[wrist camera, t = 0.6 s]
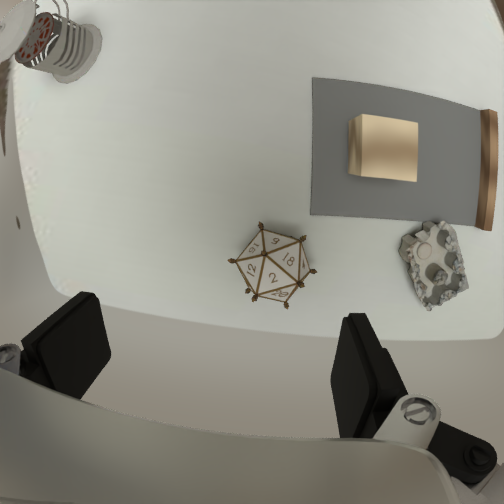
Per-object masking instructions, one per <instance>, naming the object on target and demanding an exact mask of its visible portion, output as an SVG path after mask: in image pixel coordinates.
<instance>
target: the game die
mask: <svg viewBox="0 0 504 504" xmlns="http://www.w3.org/2000/svg"><path fill="white" fill-rule="evenodd" d="M258 226H259V228H260V231H259V233H258V234H257V235H256V236H255V237H254V239H253V240H252V241H251V242H250V244H249V245H248V246H247V247H246V248H245V250H244V251H243V252H242V253H241V254H240V256H239V257H238V258H237V259H236V260H235V259H232V258H231V259H228V261H229V262H230V263H236V264H237V266H238V268H239V270H240V272H241V274H242V276H243V278H244V280H245V282H246V284H247V286H248V287H249V288H247V289H246V292H245V293H250V291H252V292H253V293H254V294H255V295H253V297H252V302H254V301H257V299H258V297H263V298H267V299H271V300H276V301H280V302H284V307H285V308H286V309H288V307H289V305H288V303H287V300H288V299H289V298H290V297H291V296H292V294H293V293H294V292H295V291H296V289H297V288H298V287H300V288H302V287H304V283H303V281H304V279H305V278H306V277H307V275H308V274H309V273H312V274H315V273H317V271H316V270H315V269H310V268H309V265H308V261H307V258H306V255H305V252H304V249H303V246H302V242H303V241H304V240H306V235H304V236H302V237H300V240H298V239H295V238H292V236H291V237H288V236H285V235H282V234H278V233H275V232H272V231H268V230H265V229H263V227H264V226H263V224H262V223H261V222H260V221H259V225H258Z"/></svg>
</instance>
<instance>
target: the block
mask: <svg viewBox="0 0 504 504" xmlns="http://www.w3.org/2000/svg"><path fill="white" fill-rule="evenodd" d="M417 164H418V123H416V122H411V121H406V120H400V119H394V118H388V117H381V116H374V115H367V114H361V115H359V116H357V117H355V118H354V119H352V120H350V121H348V158H347V173H348V174H353V175H358V176H365V177H376V178H386V179H396V180H404V181H413V182H417Z"/></svg>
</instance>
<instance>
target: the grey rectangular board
mask: <svg viewBox="0 0 504 504" xmlns="http://www.w3.org/2000/svg"><path fill="white" fill-rule="evenodd" d="M312 90H313V146H312V187H311V212H310V215H325V216H346V217H364V218H380V219H395V220H409V221H422V222H427V221H431V222H434V223H440V222H441V221H445V222H446V223H448V224H456V225H466V226H475V222H476V214H477V205H478V195H479V183H480V165H481V120H480V110H477V109H474V108H471V107H468V106H465V105H462V104H458V103H455V102H451V101H448V100H444V99H441V98H437V97H433V96H429V95H425V94H421V93H416V92H412V91H407V90H402V89H397V88H392V87H386V86H381V85H374V84H368V83H361V82H353V81H345V80H336V79H325V78H312ZM361 114H367V115H374V116H381V117H388V118H394V119H400V120H406V121H411V122H416V123H418V164H417V182H413V181H404V180H396V179H386V178H376V177H365V176H358V175H353V174H348V173H347V158H348V121H350V120H352V119H354V118H355V117H357V116H359V115H361Z"/></svg>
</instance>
